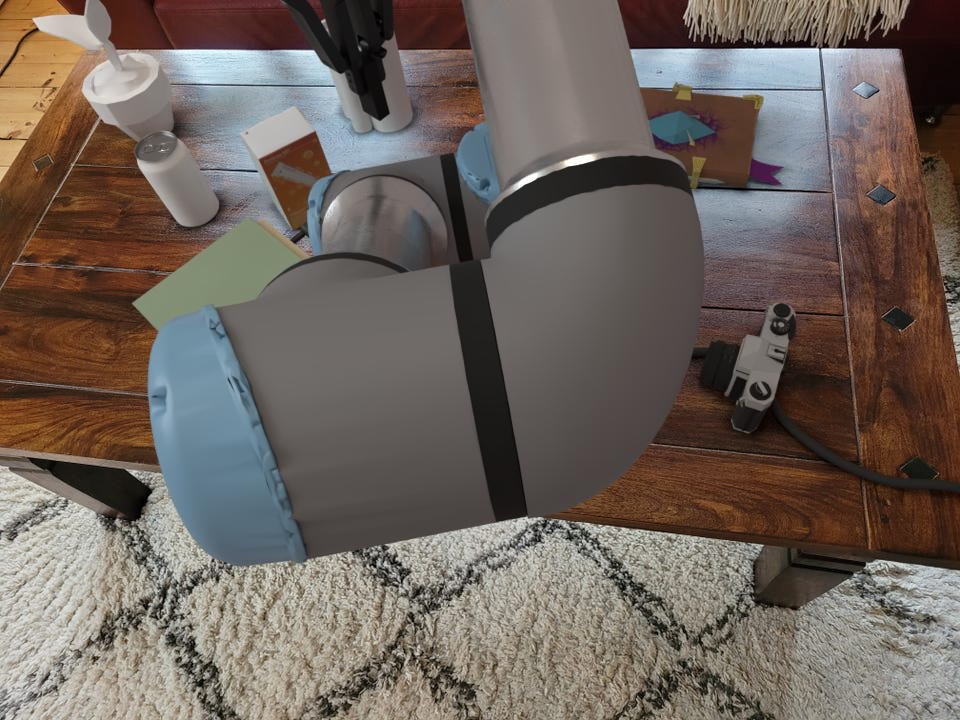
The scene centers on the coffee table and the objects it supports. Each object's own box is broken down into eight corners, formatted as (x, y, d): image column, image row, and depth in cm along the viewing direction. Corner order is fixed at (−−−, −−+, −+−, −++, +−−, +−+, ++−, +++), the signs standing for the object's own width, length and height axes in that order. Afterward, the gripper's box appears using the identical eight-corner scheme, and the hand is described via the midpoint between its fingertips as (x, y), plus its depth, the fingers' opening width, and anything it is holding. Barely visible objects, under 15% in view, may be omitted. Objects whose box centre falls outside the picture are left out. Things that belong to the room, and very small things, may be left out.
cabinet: (277, 266, 90) (248, 216, 82) (342, 321, 85) (318, 273, 76) (173, 348, 85) (131, 303, 77) (234, 412, 80) (197, 371, 71)
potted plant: (200, 105, 110) (113, -56, 88) (176, 157, 104) (76, -2, 82) (128, 106, 111) (25, -51, 90) (101, 157, 106) (-16, 2, 84)
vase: (418, 103, 104) (389, -27, 87) (405, 136, 101) (373, 7, 84) (348, 99, 107) (307, -29, 89) (334, 131, 103) (288, 4, 86)
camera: (713, 321, 79) (726, 278, 71) (784, 338, 77) (806, 295, 69) (686, 421, 74) (697, 386, 66) (761, 442, 72) (782, 408, 64)
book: (779, 203, 88) (789, 176, 84) (588, 179, 94) (589, 152, 89) (789, 113, 95) (800, 83, 90) (611, 95, 101) (613, 66, 96)
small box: (293, 232, 93) (256, 159, 82) (274, 205, 96) (236, 132, 85) (345, 204, 95) (316, 129, 84) (325, 179, 98) (294, 103, 87)
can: (216, 227, 95) (174, 161, 85) (171, 230, 96) (124, 166, 86) (224, 193, 99) (185, 126, 88) (181, 196, 99) (137, 130, 89)
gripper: (338, -184, 56) (397, 67, 77) (210, -114, 52) (308, 131, 73) (399, -162, 53) (444, 93, 73) (267, -87, 49) (353, 162, 69)
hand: (376, 112), depth 73 cm, fingers closed
